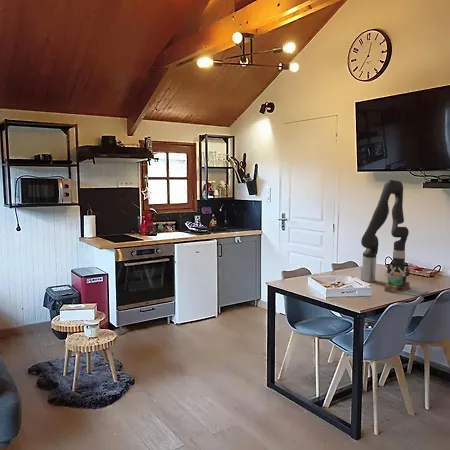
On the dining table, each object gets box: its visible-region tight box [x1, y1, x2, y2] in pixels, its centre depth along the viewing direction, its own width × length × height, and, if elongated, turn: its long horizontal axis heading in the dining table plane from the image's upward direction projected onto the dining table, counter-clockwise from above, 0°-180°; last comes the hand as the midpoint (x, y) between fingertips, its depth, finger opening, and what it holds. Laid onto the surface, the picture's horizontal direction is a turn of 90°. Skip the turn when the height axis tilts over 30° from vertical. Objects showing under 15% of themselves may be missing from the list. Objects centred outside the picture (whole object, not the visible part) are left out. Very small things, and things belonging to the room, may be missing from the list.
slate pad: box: [401, 287, 429, 297], centre depth 294 cm, size 10×16×1 cm, turn 133°
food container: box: [386, 273, 404, 291], centre depth 302 cm, size 12×6×10 cm, turn 105°
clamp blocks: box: [384, 280, 411, 294], centre depth 303 cm, size 7×21×4 cm, turn 133°
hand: (397, 280), depth 303 cm, fingers open, 8 cm apart
